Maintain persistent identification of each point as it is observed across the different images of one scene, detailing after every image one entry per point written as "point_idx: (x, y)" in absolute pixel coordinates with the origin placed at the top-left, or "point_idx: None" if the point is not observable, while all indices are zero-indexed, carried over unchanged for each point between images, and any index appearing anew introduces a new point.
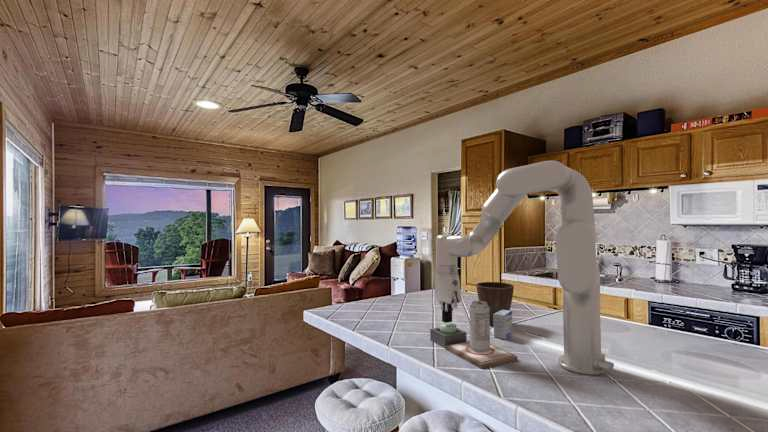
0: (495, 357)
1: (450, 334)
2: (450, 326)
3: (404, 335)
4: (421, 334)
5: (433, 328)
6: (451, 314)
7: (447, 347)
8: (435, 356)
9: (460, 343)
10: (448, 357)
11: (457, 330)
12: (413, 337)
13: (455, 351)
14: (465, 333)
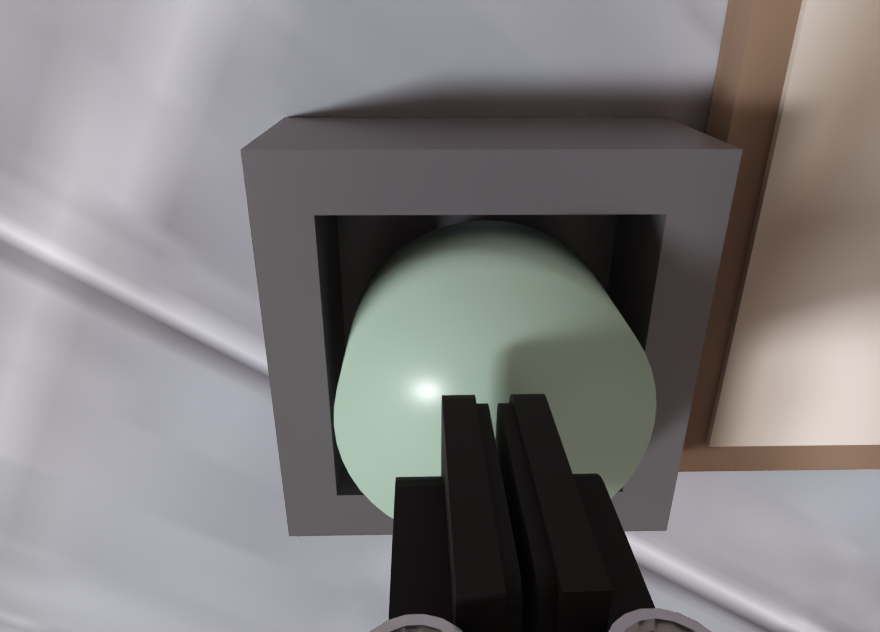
0: None
1: (666, 439)
2: (605, 438)
3: (47, 580)
4: (61, 421)
5: (284, 491)
6: (578, 514)
7: (705, 465)
8: (736, 596)
9: (748, 302)
10: (833, 525)
11: (546, 213)
12: (147, 536)
13: (858, 465)
14: (730, 167)
